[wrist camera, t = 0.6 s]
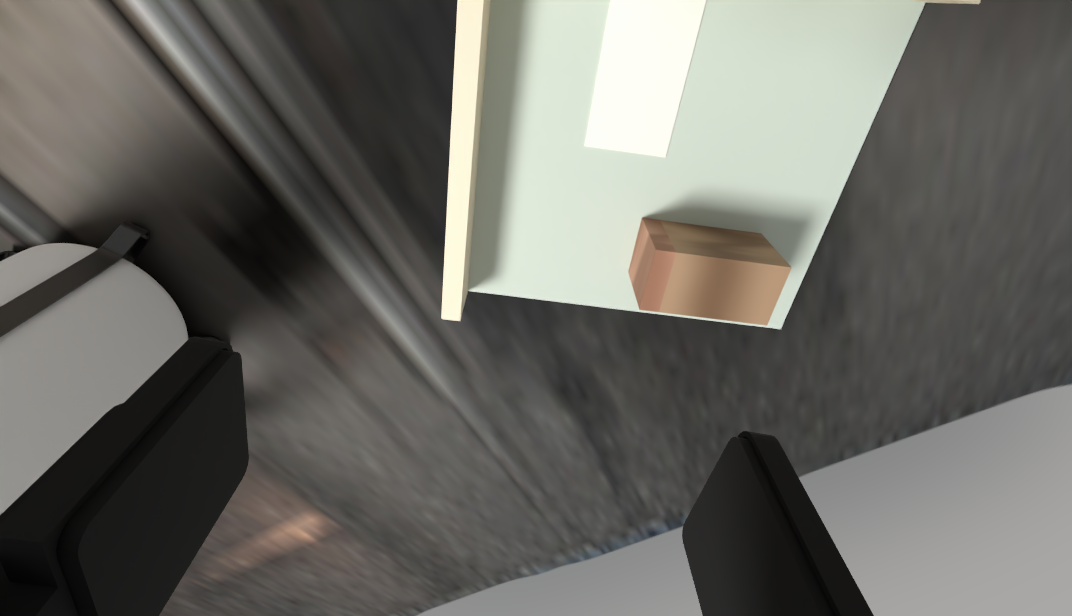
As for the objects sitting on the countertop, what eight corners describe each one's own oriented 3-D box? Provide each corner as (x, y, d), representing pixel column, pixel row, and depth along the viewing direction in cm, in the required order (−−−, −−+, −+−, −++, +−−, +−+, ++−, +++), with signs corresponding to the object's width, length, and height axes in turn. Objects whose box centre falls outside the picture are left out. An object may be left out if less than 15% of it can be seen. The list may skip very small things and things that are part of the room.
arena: (931, -24, 28) (993, -27, 24) (778, 325, 39) (803, 362, 35) (475, -100, 27) (463, -116, 23) (451, 285, 38) (441, 318, 34)
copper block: (761, 233, 35) (791, 267, 31) (741, 286, 37) (767, 325, 33) (641, 217, 34) (655, 249, 30) (628, 272, 36) (639, 309, 32)
